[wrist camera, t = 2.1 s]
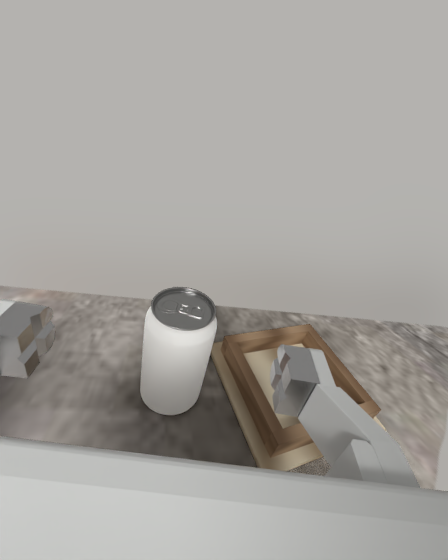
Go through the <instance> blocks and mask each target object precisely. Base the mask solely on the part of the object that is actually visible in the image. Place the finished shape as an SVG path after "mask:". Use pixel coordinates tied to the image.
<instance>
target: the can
mask: <svg viewBox="0 0 448 560" xmlns="http://www.w3.org/2000/svg"><path fill="white" fill-rule="evenodd" d="M215 315H216V307H215V305H214V303H213V301H212V300H211V299H210V298H209V297H208V296H207V295H205V294H204V293H202V292H200V291H198V290H195V289H192V288H186V287H173V288H168V289H165V290H163V291H161V292H159V293H158V294H157V295H156V296H155V297H154V298H153V300H152V303H151V307H150V308H149V310H148V311H147V314H146V317H145V325H144V338H143V352H142V367H141V383H140V393H141V397H142V399H143V401H144V403H145V404H146V405H147V406H148V407H149V408H150V409H151V410H153V411H155V412H157V413H159V414H163V415H176V414H180V413H183V412H185V411H187V410H188V409H190V408H191V407H192V406H193V405H194V404H195V402H196V401H197V399H198V397H199V394H200V390H201V387H202V383H203V379H204V376H205V372H206V368H207V365H208V361H209V357H210V353H211V350H212V346H213V342H214V338H215V334H216V329H217V320H216V316H215Z"/></svg>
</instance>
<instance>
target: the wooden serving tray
mask: <svg viewBox="0 0 448 560" xmlns="http://www.w3.org/2000/svg"><path fill="white" fill-rule="evenodd" d="M281 344H284V345H290V346H297V347H304V348H312V349H318V350H322V351H323V353H324V356H325V358H326V361H327V364H328V366H329V369H330V372H331V374H332V377H333V380H334V382H335V385H336V387H340V388H341V389H342V390H343V391H344V392H345V393H347V394H348V395H349V396H350V397H351V398H352V399H353V400H354V401H355V402H356V403H357V404H358V405H359V406H360V407H361V408H362V409H363V410H364V411H365V412H366V413H367V414H368V415H369V416H370V417H371V418H372V419H373V420H374V421H376V422H377V423H378V424H379V425H380V426H381V427H382V428H383V429H384V430H385V431H386V429H385V428H384V426H383V425H382V424H381V423H380V421H379V420H378V419H377V418H376V415H377V414H378V413H379V411H380V410H381V409H380V408H379V407H378V405H377V404H376V403H375V402H374V401H373V399H372V398H371V397H370V396H369V395H368V393H367V392H366V391H365V390H364V389H363V387H362V386H361V385H360V384H359V383H358V381H357V380H356V379H355V378H354V377H353V375H352V374H351V373H350V372H349V370H348V369H347V368H346V367H345V366H344V364H343V363H342V362H341V361H340V360H339V358H338V357H337V356H336V355H335V354H334V352H333V351H332V350H331V349H330V348H329V346H328V345H327V344H326V343H325V342H324V340H323V339H322V338H321V337H320V336H319V334H318V333H317V332H316V331H315V330H314V328H313V327H312V326H311V325H310V324H306V325H299V326H292V327H285V328H278V329H271V330H264V331H257V332H250V333H243V334H236V335H229V336H224V340H223V341H222V342H215V343H213V346H212V350H211V353H210V355H211V357H212V360H213V362H214V364H215V367H216V369H217V372H218V374H219V376H220V379H221V381H222V384H223V386H224V388H225V391H226V393H227V395H228V398H229V400H230V403H231V405H232V407H233V410H234V412H235V414H236V417H237V419H238V422H239V424H240V426H241V429H242V431H243V434H244V436H245V438H246V441H247V443H248V445H249V448H250V450H251V453H252V455H253V457H254V460H255V462H256V465H257V467H258V468H264V469H272V470H280V471H288V470H291V469H294V468H296V467H299V466H301V465H304V464H306V463H309V462H311V461H314V460H316V459H319V458H321V457H324V456H323V455H322V453H321V452H320V450H319V449H318V447H317V446H316V444H315V443H314V441H313V440H312V438H311V437H310V436H309V434H308V433H307V431H306V430H305V428H304V427H303V425H302V424H301V422H300V421H299V419H298V417H295V416H289V415H283V414H277V413H275V412H274V405H273V398H272V396H273V393H274V391H275V390H274V389H273V388H272V386H271V383H270V371H271V366H272V363H273V360H274V359H276V358H278V355H277V350H278V348H279V346H280V345H281Z"/></svg>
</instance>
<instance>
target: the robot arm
mask: <svg viewBox="0 0 448 560" xmlns="http://www.w3.org/2000/svg"><path fill="white" fill-rule="evenodd" d="M52 317H53V313H52V309H51V308H49V307H46V306H41V305H35V304H30V303H25V302H17V301H12V300H7V299H2V300H0V375H1V376H10V377H19V378H29V376H30V375H31V374H32V372H33V371H34V370H35V368H36V367H37V366H38V364H39V363H40V361H39V356H41V355H43V354H45V353H47V352H48V351H49V349H50V348H51V346H52V344H53V342H54V339H55V332H56V331H55V326H54V325H53V324H52V323H51V321H50V319H51V318H52ZM277 355H278V358H276V359H274V360H273V363H272V366H271V371H270V383H271V386H272V388H273V389H274V390H275V391H274V393H273V396H272V398H273V405H274V412H275V413H277V414H283V415H289V416H295V417H298V419H299V421H300V422H301V424H302V425H303V427H304V428H305V430H306V431H307V433H308V434H309V436H310V437H311V438H312V440H313V441H314V443H315V444H316V446H317V447H318V449H319V450H320V452H321V453H322V455H323V456H324V458H325V459H326V461H327V462H328V464H329V465H330V466H331V468H330V469H329V471H328V472H327V473H326V475H325V476H320V475H312V474H304V473H296V472H288V471H280V470H272V469H264V468H256V467H248V466H240V465H232V464H223V463H215V462H207V461H199V460H191V459H183V458H175V457H167V456H159V455H151V454H143V453H134V452H126V451H118V450H110V449H102V448H94V447H86V446H78V445H70V444H62V443H53V442H45V441H37V440H29V439H21V438H13V437H5V436H0V560H448V491H441V490H433V489H425V488H420V486H419V484H418V482H417V480H416V478H415V476H414V474H413V472H412V470H411V467H410V465H409V463H408V461H407V459H406V457H405V455H404V453H403V451H402V449H401V447H400V445H399V444H398V443H397V442H396V441H395V440H394V439H393V438H392V437H391V436H390V435H389V434H388V433H387V432H386V431H385V430H384V429H383V428H382V427H381V426H380V425H379V424H378V423H377V422H376V421H374V420H373V419H372V418H371V417H370V416H369V415H368V414H367V413H366V412H365V411H364V410H363V409H362V408H361V407H360V406H359V405H358V404H357V403H356V402H355V401H354V400H353V399H352V398H351V397H350V396H349V395H348V394H347V393H345V392H344V391H343V390H342V389H341V388H340V387H336V385H335V382H334V380H333V377H332V374H331V372H330V369H329V366H328V364H327V361H326V358H325V356H324V353H323V351H322V350H318V349H312V348H304V347H297V346H290V345H284V344H281V345H280V346H279V348H278V350H277Z"/></svg>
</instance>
